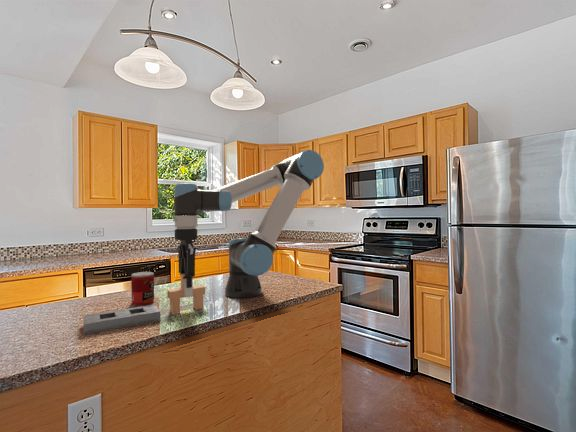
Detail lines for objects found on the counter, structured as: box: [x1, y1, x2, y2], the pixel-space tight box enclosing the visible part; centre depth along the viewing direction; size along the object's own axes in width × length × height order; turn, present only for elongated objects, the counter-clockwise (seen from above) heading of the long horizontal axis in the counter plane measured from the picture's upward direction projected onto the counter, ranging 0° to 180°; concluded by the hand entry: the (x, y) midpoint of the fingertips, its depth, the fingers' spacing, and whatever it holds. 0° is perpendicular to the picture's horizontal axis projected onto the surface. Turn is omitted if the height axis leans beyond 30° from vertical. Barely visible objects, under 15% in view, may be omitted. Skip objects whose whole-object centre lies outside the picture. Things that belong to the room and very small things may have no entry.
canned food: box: [130, 271, 155, 306], centre depth 118 cm, size 8×8×11 cm
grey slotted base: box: [83, 303, 161, 336], centre depth 96 cm, size 20×9×3 cm, turn 124°
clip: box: [166, 273, 206, 315], centre depth 109 cm, size 12×4×12 cm, turn 124°
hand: (186, 295), depth 109 cm, fingers closed on clip, 3 cm apart
